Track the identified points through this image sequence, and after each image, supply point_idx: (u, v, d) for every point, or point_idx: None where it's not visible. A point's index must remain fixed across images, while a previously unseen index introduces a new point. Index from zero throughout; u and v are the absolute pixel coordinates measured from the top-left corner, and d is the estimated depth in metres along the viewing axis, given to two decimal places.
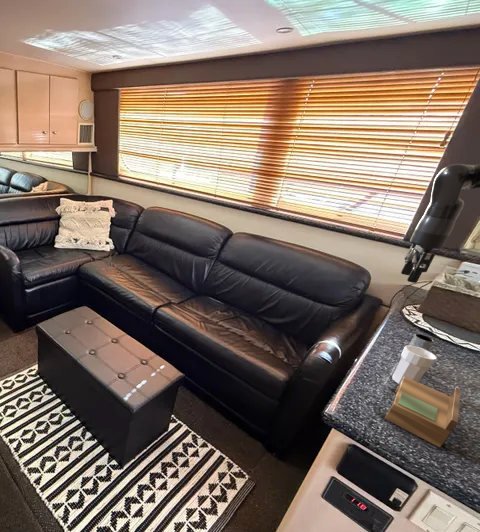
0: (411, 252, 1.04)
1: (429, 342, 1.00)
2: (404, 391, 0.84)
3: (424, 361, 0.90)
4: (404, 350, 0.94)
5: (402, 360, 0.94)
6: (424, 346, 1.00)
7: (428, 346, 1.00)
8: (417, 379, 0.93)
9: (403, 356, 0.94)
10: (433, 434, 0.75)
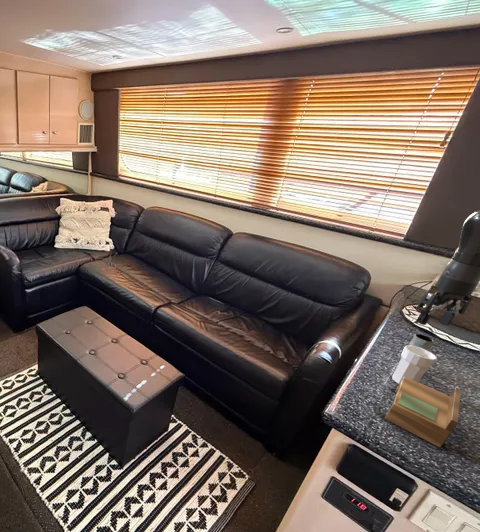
0: None
1: (429, 342, 1.00)
2: (404, 391, 0.84)
3: (424, 361, 0.90)
4: (404, 350, 0.94)
5: (402, 360, 0.94)
6: (424, 346, 1.00)
7: (428, 346, 1.00)
8: (417, 379, 0.93)
9: (403, 356, 0.94)
10: (433, 434, 0.75)
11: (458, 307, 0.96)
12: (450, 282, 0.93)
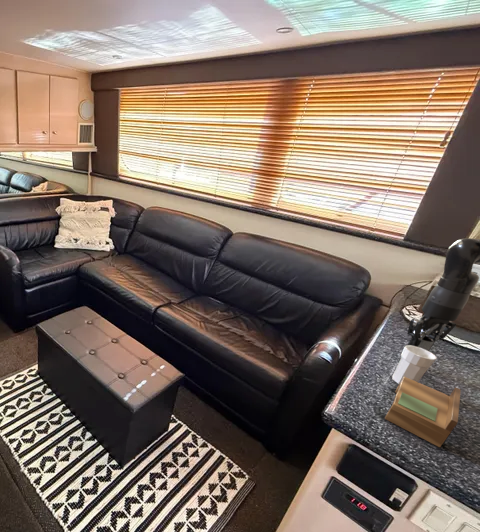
0: None
1: (429, 342, 1.00)
2: (404, 391, 0.84)
3: (424, 361, 0.90)
4: (404, 350, 0.94)
5: (402, 360, 0.94)
6: (424, 346, 1.00)
7: (428, 346, 1.00)
8: (417, 379, 0.93)
9: (403, 356, 0.94)
10: (433, 434, 0.75)
11: (441, 332, 0.99)
12: (436, 307, 0.96)
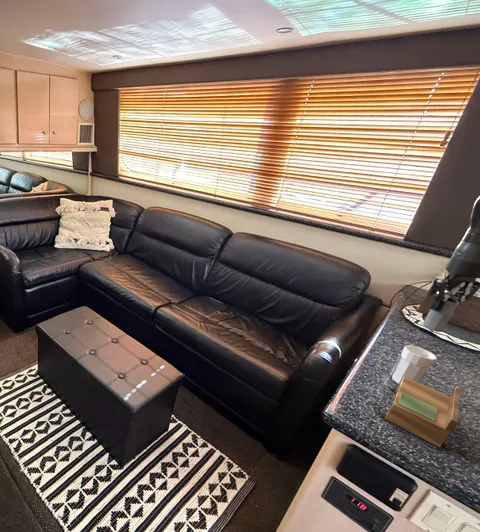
0: None
1: (454, 303, 0.94)
2: (404, 391, 0.84)
3: (424, 361, 0.90)
4: (404, 350, 0.94)
5: (402, 360, 0.94)
6: (448, 307, 0.94)
7: (453, 307, 0.94)
8: (417, 379, 0.93)
9: (403, 356, 0.94)
10: (433, 434, 0.75)
11: (467, 291, 0.93)
12: (461, 264, 0.90)
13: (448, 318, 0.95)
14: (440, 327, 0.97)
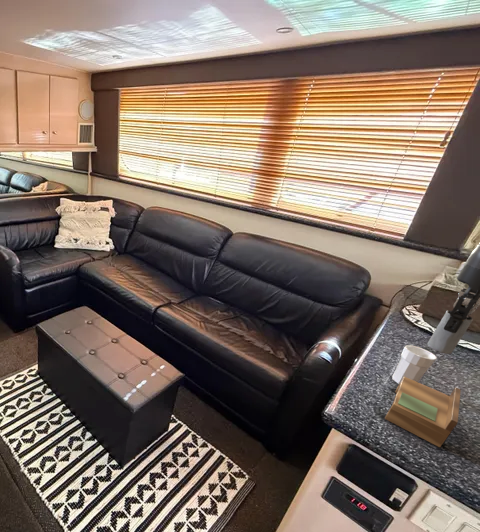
0: None
1: (471, 320, 0.77)
2: (404, 391, 0.84)
3: (424, 361, 0.90)
4: (404, 350, 0.94)
5: (402, 360, 0.94)
6: (465, 326, 0.78)
7: (468, 325, 0.78)
8: (417, 379, 0.93)
9: (403, 356, 0.94)
10: (433, 434, 0.75)
11: (479, 304, 0.78)
12: None
13: (461, 337, 0.80)
14: (453, 348, 0.80)
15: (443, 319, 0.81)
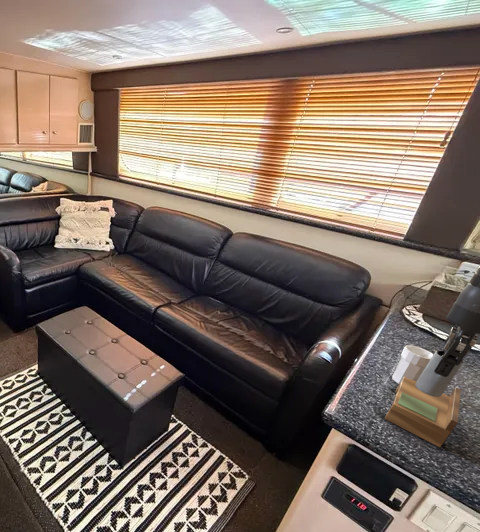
0: (450, 332, 0.74)
1: (461, 363, 0.72)
2: (404, 391, 0.84)
3: (424, 361, 0.90)
4: (404, 350, 0.94)
5: (402, 360, 0.94)
6: (456, 369, 0.72)
7: None
8: (417, 379, 0.93)
9: (403, 356, 0.94)
10: (433, 434, 0.75)
11: None
12: None
13: None
14: (443, 391, 0.75)
15: (432, 360, 0.75)
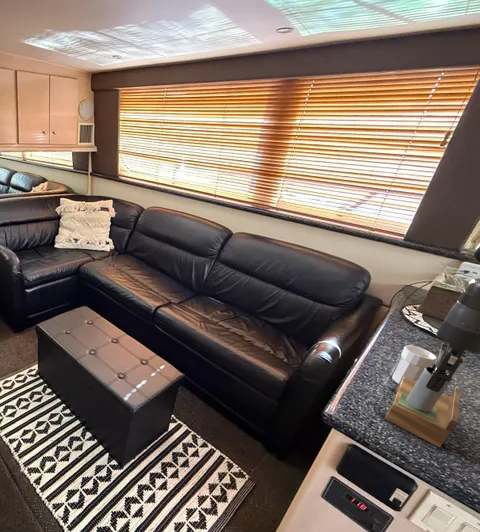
0: (440, 348, 0.75)
1: None
2: (404, 391, 0.84)
3: (424, 361, 0.90)
4: (404, 350, 0.94)
5: (402, 360, 0.94)
6: (444, 386, 0.74)
7: None
8: (417, 379, 0.93)
9: (403, 356, 0.94)
10: (433, 434, 0.75)
11: None
12: (471, 337, 0.68)
13: None
14: (432, 407, 0.77)
15: (422, 377, 0.77)
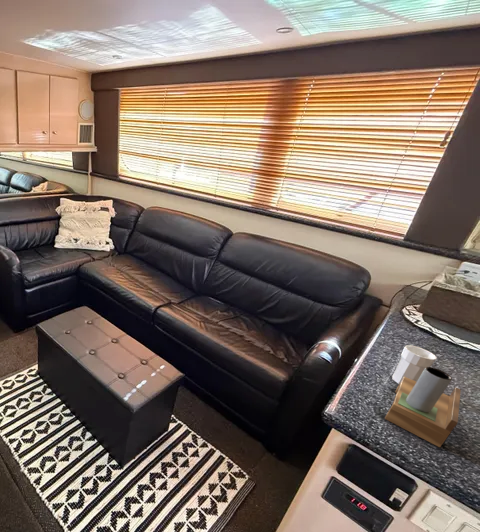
0: None
1: (450, 380, 0.74)
2: (404, 391, 0.84)
3: (424, 361, 0.90)
4: (404, 350, 0.94)
5: (402, 360, 0.94)
6: (444, 386, 0.74)
7: None
8: (417, 379, 0.93)
9: (403, 356, 0.94)
10: (433, 434, 0.75)
11: None
12: None
13: None
14: (432, 407, 0.77)
15: (422, 377, 0.77)
